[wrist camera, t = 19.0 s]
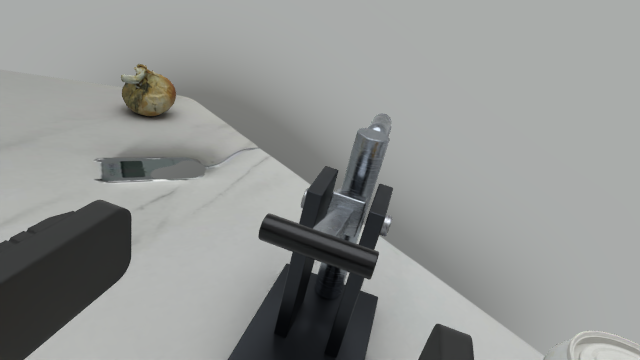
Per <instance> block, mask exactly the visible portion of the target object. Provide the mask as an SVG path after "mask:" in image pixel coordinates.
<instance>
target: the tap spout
mask: <svg viewBox="0 0 640 360" xmlns="http://www.w3.org/2000/svg"><path fill="white" fill-rule="evenodd" d="M390 130H391V119H390V117H389V116H388V115H387V114H378V115H377V116H375V118H374V119H373V121H372V122H371V124H370V126H369V127H368V128H362V129H359V130H358V131H357V135H356V138H355V142H354V145H353V149H352V152H351V156H350V160H349V164H348V167H347V170H346V174H345V178H344V181H343V185H342V190H345V191H348V192H351V193H354V194H357V195H360V196H363V197H366V198H368V201H367V204H366V207H365V210H364V213H363V216H362V220H361V223H360V226H359V229H358V231H357V233H356V235H355V237H354V238H352V237H350V236H347V235H344V234H343V235H342V237H341V239H344V240H347V241H350V242H352V243H355V244H357V240H358V237H359V234H360V231H361V228H362V225H363V222H364V218H365V215H366V212H367V209H368V205H369V202H370V199H371V196H372V193H373V190H374V187H375V184H376V181H377V177H378V174H379V171H380V168H381V165H382V162H383V159H384V156H385V152H386V149H387V146H388V143H389V134H390ZM346 275H347V271H345V270H342V269H339V268H336V267H334V266H331V265H328V264H325V263H323V262H321V265H320V268H319V272H318V275H317V279H316V283H315V291H316V292H317V294H318V295H320V296H321V297H323V298H326V299H335V298H337V297H339V295H340V294H341V291H342V288H343V284H344V281H345V278H346Z"/></svg>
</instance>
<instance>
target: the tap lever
mask: <svg viewBox="0 0 640 360" xmlns="http://www.w3.org/2000/svg"><path fill="white" fill-rule="evenodd" d="M367 201H368V198H366V197H363V196H360V195H357V194H354V193H351V192H348V191H345V190H342V189H338V190H336V191H334V192H333V193H332V196H331V200H330V203H329V206H328V209H327V212H326V216H325V218H324V219H323V220H321V221H320V222H319V223H318V224H317V225H316V226H315V227H314V228H310V227H307V226H304V225H301V224H298V223H295V222H293V221H290V220H287V219H284V218H281V217H278V216H275V215H273V214H267V215H266V217H265V218H264V220H263V222H262V224H261V227H260V230H259V239H260V240H262V241H265V242H267V243H270V244H273V245H276V246H278V247H281V248H284V249H287V250H289V251H292V252H295V253H298V254H301V255H303V256H306V257H309V258H312V259H314V260H317V261H320V262H323V263H325V264H328V265H331V266H334V267H336V268H339V269H342V270H345V271H347V272H350V273H353V274H356V275H358V276H361V277H364V278H367V279H371V277H372V274H373V272H374V269H375V266H376V262H377V259H378V255H379V252H378V251H375V250H372V249H370V248H367V247H364V246H361V245H358V244H355V243H352V242H350V241H347V240H344V239H341V237H342V235H343V234H344V235H347V236H350V237H352V238H354V237H355V235H356V233H357V231H358V229H359V226H360V223H361V220H362V216H363V213H364V210H365V207H366V204H367Z"/></svg>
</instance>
